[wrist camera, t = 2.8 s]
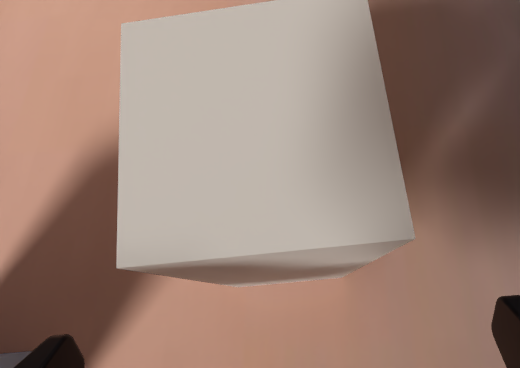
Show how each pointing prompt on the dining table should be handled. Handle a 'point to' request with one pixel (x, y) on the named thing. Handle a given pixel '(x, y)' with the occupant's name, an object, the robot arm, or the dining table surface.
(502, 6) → the dining table surface
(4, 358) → the slate-blue block
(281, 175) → the cream block
